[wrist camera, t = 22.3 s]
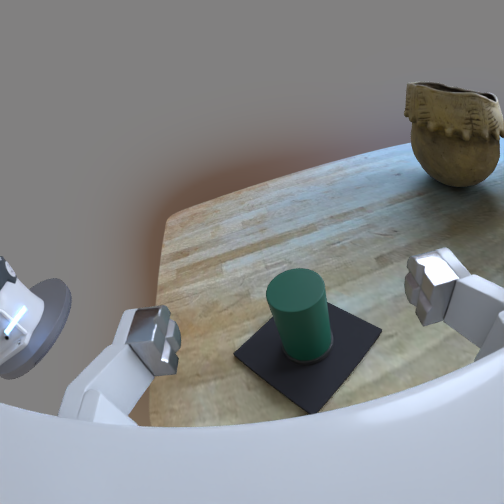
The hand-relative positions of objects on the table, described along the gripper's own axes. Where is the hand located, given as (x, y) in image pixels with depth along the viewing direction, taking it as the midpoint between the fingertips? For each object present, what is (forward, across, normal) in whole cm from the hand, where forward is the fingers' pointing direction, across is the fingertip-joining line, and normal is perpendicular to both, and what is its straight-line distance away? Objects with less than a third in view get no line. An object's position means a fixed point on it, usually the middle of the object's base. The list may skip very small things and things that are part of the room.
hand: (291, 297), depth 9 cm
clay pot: (+39, -38, +17) cm, 57 cm away
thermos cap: (+13, -1, +20) cm, 24 cm away
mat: (+13, -1, +20) cm, 24 cm away
